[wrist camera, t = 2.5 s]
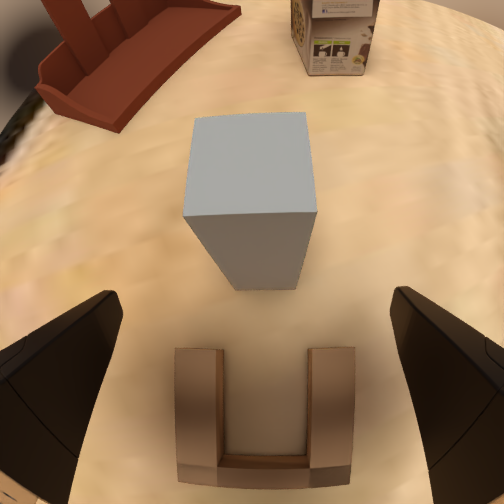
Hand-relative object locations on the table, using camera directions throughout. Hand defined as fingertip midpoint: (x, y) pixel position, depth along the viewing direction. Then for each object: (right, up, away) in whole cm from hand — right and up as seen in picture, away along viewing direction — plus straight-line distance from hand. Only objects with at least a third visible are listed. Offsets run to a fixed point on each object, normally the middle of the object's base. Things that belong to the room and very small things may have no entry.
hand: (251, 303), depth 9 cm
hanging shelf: (-13, +26, +21) cm, 36 cm away
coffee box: (+8, +24, +19) cm, 31 cm away
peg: (+1, +1, +12) cm, 12 cm away
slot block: (+1, -9, +9) cm, 12 cm away
